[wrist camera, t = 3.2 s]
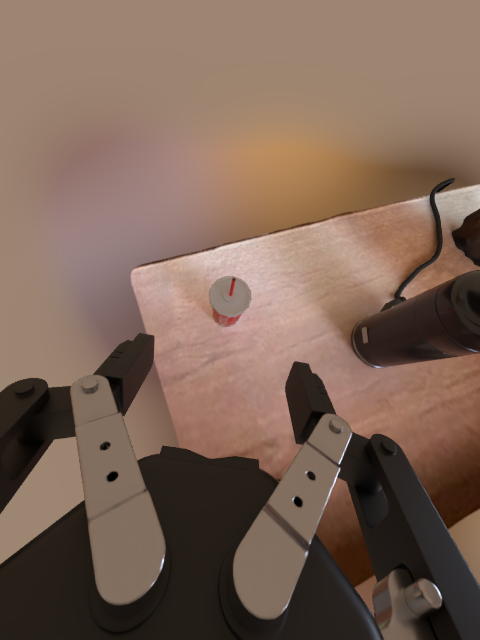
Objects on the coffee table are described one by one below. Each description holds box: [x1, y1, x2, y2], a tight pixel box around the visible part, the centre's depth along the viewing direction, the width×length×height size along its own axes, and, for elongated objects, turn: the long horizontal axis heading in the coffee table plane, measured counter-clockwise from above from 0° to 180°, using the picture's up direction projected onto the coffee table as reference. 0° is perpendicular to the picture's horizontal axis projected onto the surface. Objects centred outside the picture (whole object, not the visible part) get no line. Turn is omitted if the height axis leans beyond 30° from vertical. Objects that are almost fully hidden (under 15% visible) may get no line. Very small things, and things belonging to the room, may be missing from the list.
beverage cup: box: [209, 276, 251, 327], centre depth 36 cm, size 6×6×14 cm
